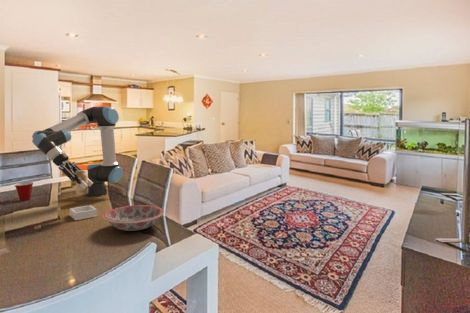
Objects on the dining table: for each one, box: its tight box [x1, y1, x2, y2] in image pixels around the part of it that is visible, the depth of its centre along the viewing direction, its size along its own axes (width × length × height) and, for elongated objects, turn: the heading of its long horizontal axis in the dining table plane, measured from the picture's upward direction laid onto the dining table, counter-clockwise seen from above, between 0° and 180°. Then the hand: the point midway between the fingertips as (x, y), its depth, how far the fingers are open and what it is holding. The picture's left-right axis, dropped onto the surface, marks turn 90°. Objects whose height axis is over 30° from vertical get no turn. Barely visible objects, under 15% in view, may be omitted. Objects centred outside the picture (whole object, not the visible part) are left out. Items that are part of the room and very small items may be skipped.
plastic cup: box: [13, 181, 34, 202], centre depth 195 cm, size 11×11×12 cm
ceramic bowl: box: [103, 204, 165, 232], centre depth 147 cm, size 29×29×8 cm
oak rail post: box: [75, 169, 88, 196], centre depth 162 cm, size 6×6×13 cm
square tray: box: [69, 204, 98, 221], centre depth 164 cm, size 11×11×4 cm
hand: (88, 185), depth 163 cm, fingers closed on oak rail post, 6 cm apart
